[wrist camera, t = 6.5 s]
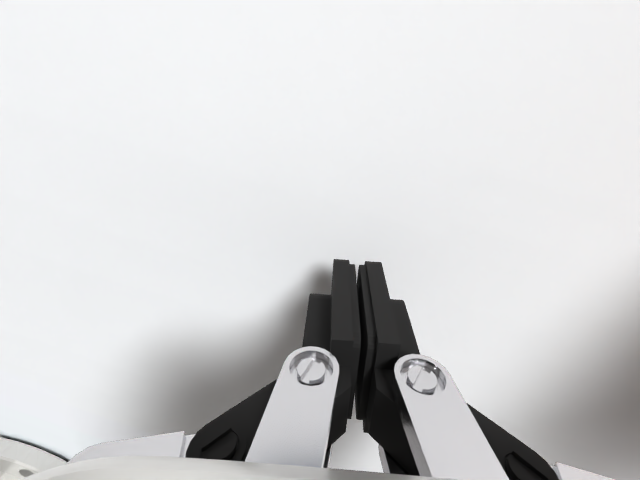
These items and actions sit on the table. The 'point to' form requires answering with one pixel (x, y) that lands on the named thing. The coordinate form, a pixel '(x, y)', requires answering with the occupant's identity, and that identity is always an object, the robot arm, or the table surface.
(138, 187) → the table surface
